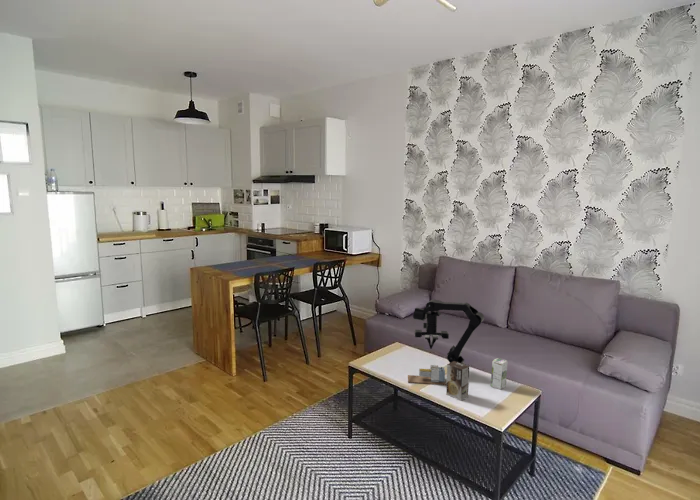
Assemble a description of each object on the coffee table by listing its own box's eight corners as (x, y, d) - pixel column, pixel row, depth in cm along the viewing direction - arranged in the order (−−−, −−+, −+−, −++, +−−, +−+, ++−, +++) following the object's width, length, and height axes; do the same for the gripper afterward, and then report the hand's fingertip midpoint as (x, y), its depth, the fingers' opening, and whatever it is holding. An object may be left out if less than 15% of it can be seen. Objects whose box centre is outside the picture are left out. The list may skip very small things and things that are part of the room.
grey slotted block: (431, 381, 223) (431, 370, 222) (430, 376, 229) (430, 365, 228) (438, 382, 222) (439, 370, 221) (437, 376, 229) (438, 365, 228)
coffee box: (468, 397, 209) (470, 366, 206) (461, 401, 204) (462, 369, 202) (453, 390, 215) (454, 360, 213) (445, 394, 211) (446, 363, 209)
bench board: (444, 378, 229) (444, 377, 229) (446, 385, 221) (446, 383, 221) (407, 376, 231) (407, 375, 231) (408, 382, 223) (408, 381, 223)
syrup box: (495, 383, 224) (497, 357, 222) (506, 386, 220) (507, 360, 218) (490, 386, 220) (491, 360, 218) (501, 390, 216) (502, 363, 214)
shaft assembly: (419, 381, 224) (419, 369, 223) (419, 376, 229) (419, 365, 228) (444, 382, 222) (445, 370, 222) (443, 378, 228) (443, 366, 227)
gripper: (447, 318, 244) (445, 344, 246) (414, 317, 246) (413, 342, 248) (449, 324, 233) (448, 351, 235) (415, 323, 235) (414, 349, 237)
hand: (430, 348), depth 239 cm, fingers closed
